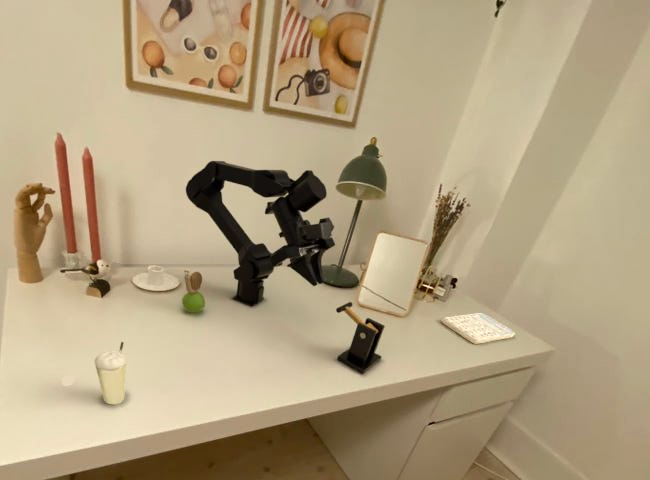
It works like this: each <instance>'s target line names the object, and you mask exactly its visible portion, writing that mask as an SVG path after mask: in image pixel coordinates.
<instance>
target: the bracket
mask: <svg viewBox="0 0 650 480" xmlns="http://www.w3.org/2000/svg"><path fill="white" fill-rule="evenodd" d="M364 323H365V324H366V325H367V324H368V323H371V324H372V325H373V326H374V327H375V328H376V329H377V330H378V332H377V331H376V330H374V329H372V328H370V327H368V326H366V325H364V324H361V323H358V324H357V325H356V328H355V331H354V334H353V337H352V340H351V344H350V346H349V348H348V349H347V350H345V351H344V352H342V353H341V354H339V355H338V356H337V361H338V362H340V363H342V364H344V365H345V366H346V367H348V368H351V369H352V370H354V371H355V372H357V373H359V374H361V375H364V374H365V373H366V372H368V371H369V370H370V369H371V368H373V367H374V366H375V365H377V364H378V363H380V361H381V360H382V355H380V354H379V353H376V351H377V348H378V345H379V343H380V341H381V338H382V334H383V332H384V330H385V325H384V324H382V323H380V322H378V321H376V320H374V319H372V318H369V317H366V319H365V321H364ZM376 332H377V334H376Z"/></svg>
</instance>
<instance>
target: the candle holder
mask: <svg viewBox="0 0 650 480" xmlns="http://www.w3.org/2000/svg"><path fill="white" fill-rule="evenodd" d="M132 282H133V284H134V285H135V286H136V287H138V288H139V289H140V288H141V289H144V290H148V291H153V292H155V291H156V292H164V291H170V290H173V289H175V288H177V287H179V286H180V283H181V282H180V280H179V279H178V278H177V277H176V276H175V275H172V274H170V273H166V272H165V268H164V267H163V266H160V265H154V264H153V265H149V266H148V267H147V272H141V273H138V274H136V275H134V277H132Z"/></svg>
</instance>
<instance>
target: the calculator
mask: <svg viewBox="0 0 650 480" xmlns="http://www.w3.org/2000/svg"><path fill="white" fill-rule="evenodd" d="M441 322H442V324H443V325H445V326H446V327H448V328H449V329H451V330H452V331H454V332H455V333H457V335H460V336H461V337H463V338H464V339H466V340H467V341H469V342H470V343H471V344H474V345H478V344H484V343H489V342H495V341H500V340H505V339H510V338H513V337H515V335H516V332H515V331H514V330H513V329H511V328H509V327H507V326H506V325H504V324H503V323H500V321H497V320H496V319H494V318H492V317H491V316H489V315H488V314H485V313H484V312H476V313H469V314H461V315H452V316H445V317H443V318H442V320H441Z"/></svg>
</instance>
